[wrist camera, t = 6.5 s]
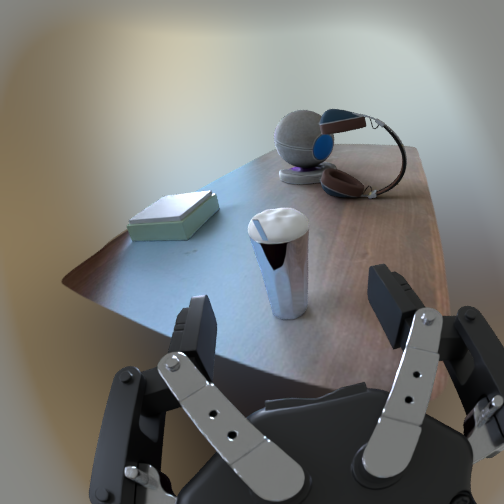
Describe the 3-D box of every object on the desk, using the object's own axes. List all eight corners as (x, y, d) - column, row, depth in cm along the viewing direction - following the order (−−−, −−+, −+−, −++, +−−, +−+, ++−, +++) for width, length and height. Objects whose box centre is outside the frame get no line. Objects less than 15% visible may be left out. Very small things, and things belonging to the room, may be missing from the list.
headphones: (276, 194, 49) (401, 212, 39) (270, 109, 41) (410, 117, 31) (288, 183, 53) (401, 199, 44) (284, 107, 45) (407, 115, 36)
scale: (130, 241, 46) (123, 221, 44) (166, 212, 55) (161, 195, 53) (187, 240, 41) (180, 217, 39) (219, 208, 51) (215, 189, 49)
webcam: (310, 166, 68) (302, 108, 60) (349, 173, 58) (342, 107, 50) (269, 179, 63) (258, 115, 55) (307, 188, 53) (297, 111, 45)
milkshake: (251, 325, 23) (225, 218, 19) (276, 288, 27) (260, 191, 23) (300, 337, 21) (288, 221, 16) (320, 295, 25) (313, 191, 20)
